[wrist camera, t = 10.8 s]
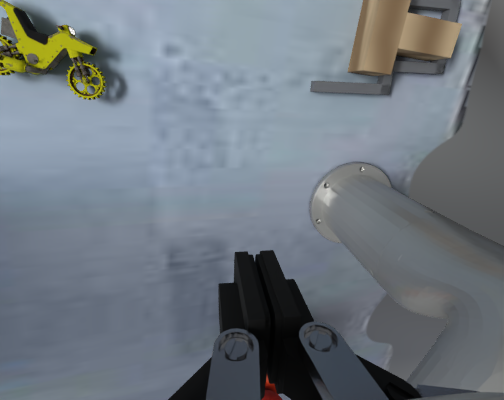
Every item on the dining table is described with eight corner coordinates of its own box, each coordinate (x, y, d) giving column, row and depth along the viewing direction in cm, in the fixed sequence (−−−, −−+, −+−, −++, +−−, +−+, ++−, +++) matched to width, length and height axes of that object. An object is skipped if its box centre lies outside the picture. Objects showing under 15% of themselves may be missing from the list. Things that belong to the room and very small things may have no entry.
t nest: (310, 91, 36) (313, 91, 35) (324, -43, 32) (328, -48, 30) (430, 96, 39) (437, 96, 38) (460, -27, 34) (469, -31, 33)
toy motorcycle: (-40, 66, 27) (-40, -18, 25) (-12, 69, 31) (-10, -4, 29) (97, 104, 30) (106, 32, 28) (108, 103, 34) (117, 39, 32)
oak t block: (347, 72, 36) (363, 70, 33) (365, -12, 33) (386, -25, 30) (419, 83, 38) (442, 83, 35) (443, 5, 35) (471, -5, 32)
